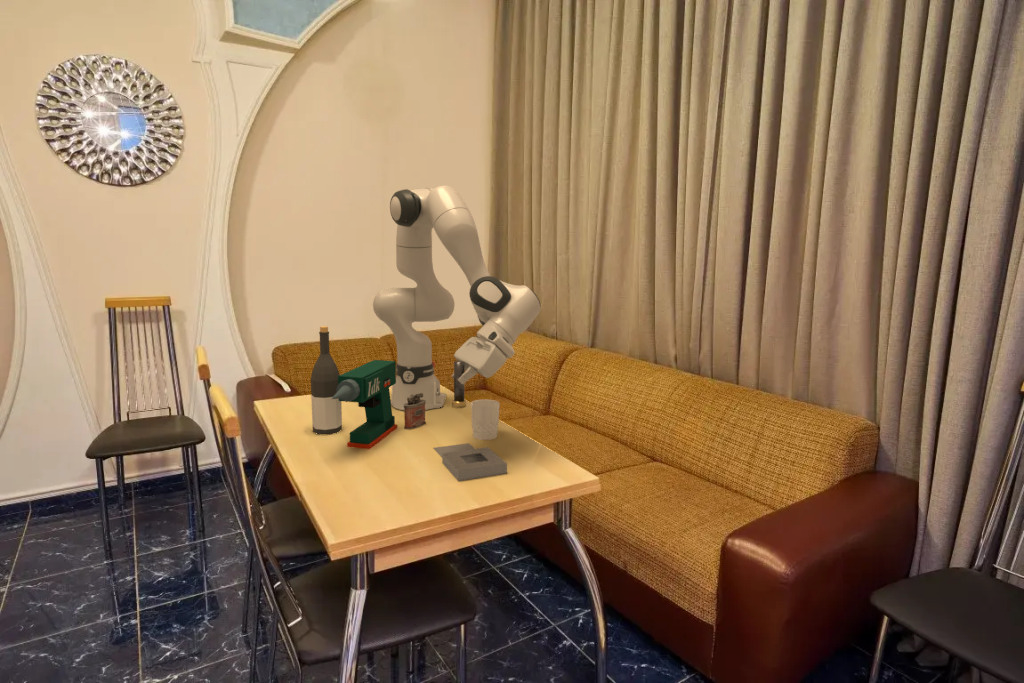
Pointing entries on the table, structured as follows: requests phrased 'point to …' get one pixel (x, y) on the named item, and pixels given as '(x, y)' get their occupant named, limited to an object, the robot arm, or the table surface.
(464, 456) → the grey square frame
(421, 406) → the lighter
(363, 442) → the power tool
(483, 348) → the robot arm
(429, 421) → the table surface
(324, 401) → the wine bottle
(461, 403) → the dark grey peg
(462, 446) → the grey square plate
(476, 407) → the white cup
